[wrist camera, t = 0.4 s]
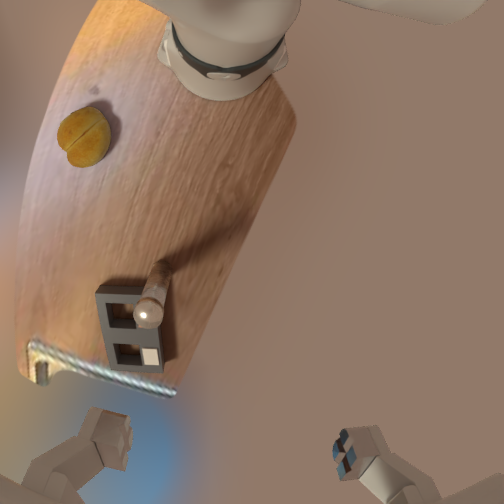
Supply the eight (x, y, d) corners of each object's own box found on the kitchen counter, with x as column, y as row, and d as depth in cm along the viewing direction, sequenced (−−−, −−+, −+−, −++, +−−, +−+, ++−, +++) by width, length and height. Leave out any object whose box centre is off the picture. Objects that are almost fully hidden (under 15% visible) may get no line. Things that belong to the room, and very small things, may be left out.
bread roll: (81, 176, 41) (71, 179, 37) (56, 130, 38) (44, 130, 34) (123, 145, 40) (115, 145, 37) (96, 98, 37) (86, 94, 33)
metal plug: (150, 259, 47) (131, 302, 34) (172, 259, 47) (161, 303, 34) (151, 280, 48) (135, 328, 35) (173, 280, 48) (163, 329, 35)
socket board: (100, 285, 47) (94, 294, 44) (157, 286, 48) (154, 296, 45) (114, 360, 52) (110, 371, 49) (164, 362, 54) (163, 374, 51)
